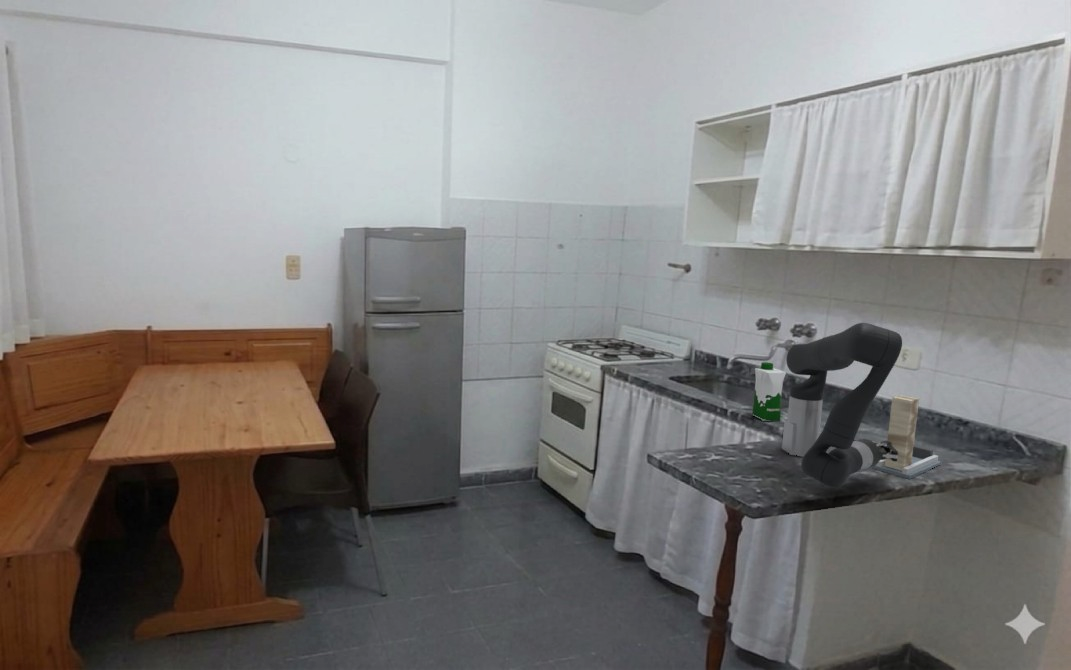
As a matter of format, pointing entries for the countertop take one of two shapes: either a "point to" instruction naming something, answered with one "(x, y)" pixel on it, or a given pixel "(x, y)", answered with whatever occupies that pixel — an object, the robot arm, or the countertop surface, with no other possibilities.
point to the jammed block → (902, 430)
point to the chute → (913, 463)
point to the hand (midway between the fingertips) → (888, 444)
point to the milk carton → (768, 392)
